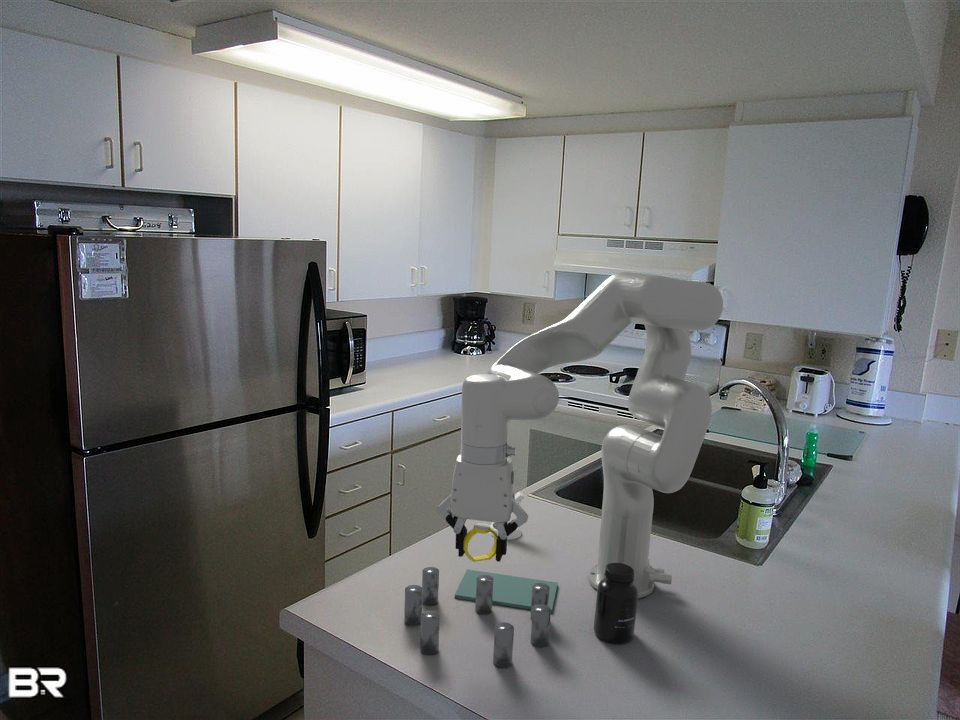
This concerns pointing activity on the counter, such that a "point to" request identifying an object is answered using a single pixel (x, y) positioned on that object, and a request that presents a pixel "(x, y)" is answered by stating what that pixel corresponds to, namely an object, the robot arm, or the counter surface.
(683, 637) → the counter surface
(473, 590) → the mat
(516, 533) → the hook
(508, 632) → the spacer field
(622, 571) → the supplement bottle
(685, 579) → the counter surface
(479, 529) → the watch
